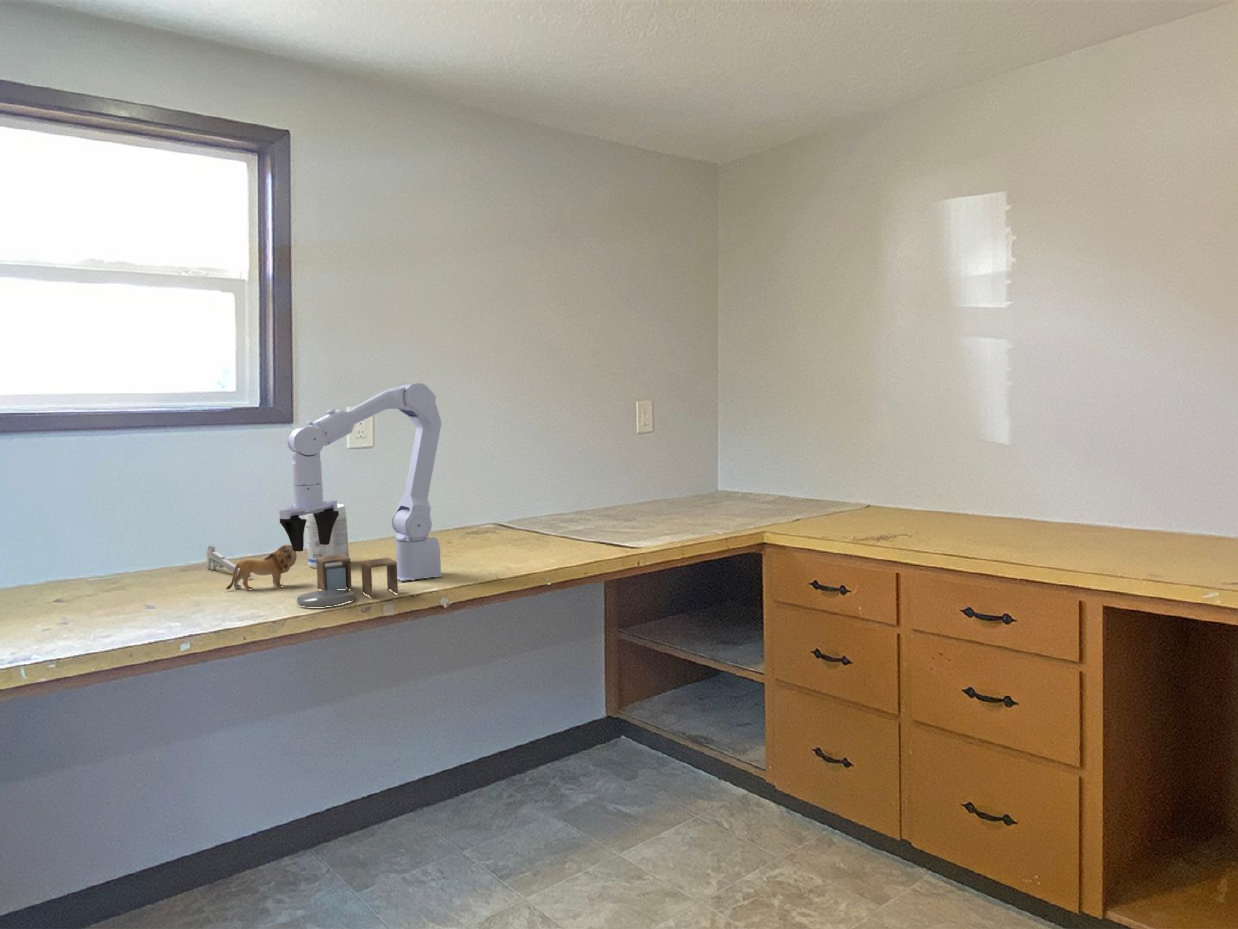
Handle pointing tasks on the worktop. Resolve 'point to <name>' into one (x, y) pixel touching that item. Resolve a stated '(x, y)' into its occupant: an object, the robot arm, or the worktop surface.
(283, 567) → the lion figurine
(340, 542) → the supplement tub
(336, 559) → the brown wooden arch
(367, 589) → the brown wooden stool
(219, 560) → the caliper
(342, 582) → the block
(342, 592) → the dish
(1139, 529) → the worktop surface
